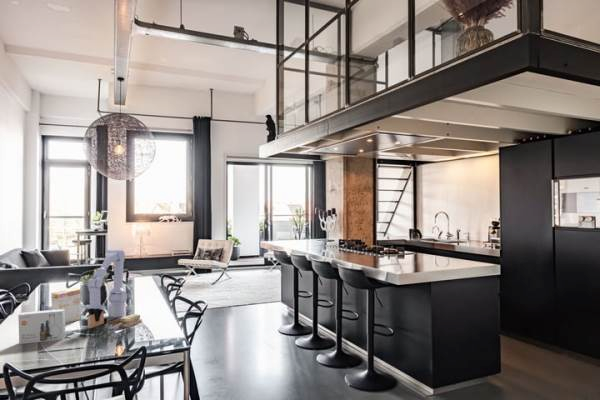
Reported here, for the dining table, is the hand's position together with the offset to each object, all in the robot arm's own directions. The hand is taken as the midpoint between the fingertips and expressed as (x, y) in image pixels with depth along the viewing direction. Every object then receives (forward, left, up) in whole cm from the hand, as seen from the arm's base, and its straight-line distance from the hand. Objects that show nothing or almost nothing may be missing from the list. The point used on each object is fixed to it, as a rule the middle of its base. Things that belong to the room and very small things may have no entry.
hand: (95, 321), depth 244 cm
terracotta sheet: (0, 0, -4) cm, 4 cm away
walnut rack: (+13, +8, -4) cm, 16 cm away
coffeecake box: (-29, +5, -4) cm, 30 cm away
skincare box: (-9, -27, -4) cm, 29 cm away
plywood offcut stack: (+18, +8, -3) cm, 20 cm away
